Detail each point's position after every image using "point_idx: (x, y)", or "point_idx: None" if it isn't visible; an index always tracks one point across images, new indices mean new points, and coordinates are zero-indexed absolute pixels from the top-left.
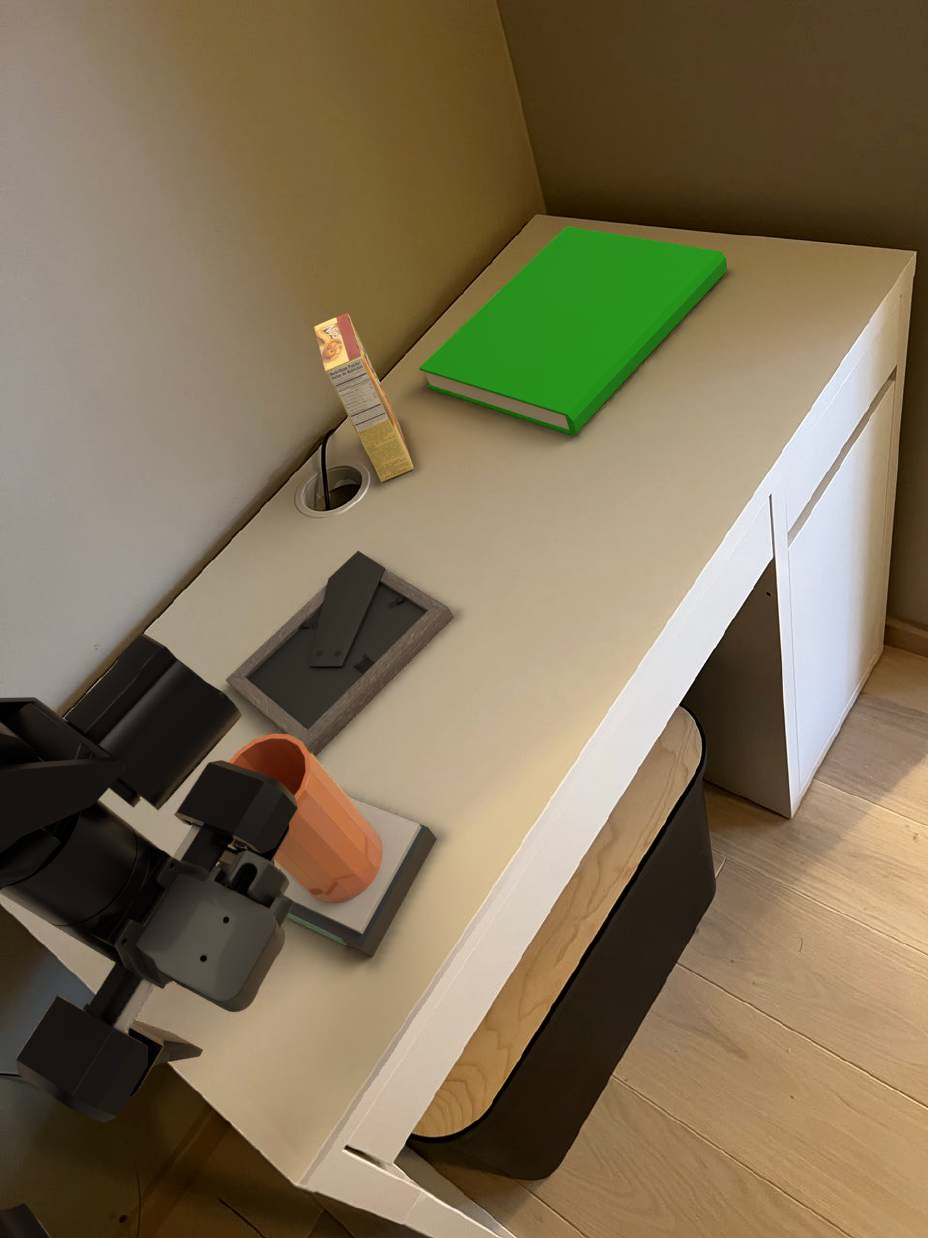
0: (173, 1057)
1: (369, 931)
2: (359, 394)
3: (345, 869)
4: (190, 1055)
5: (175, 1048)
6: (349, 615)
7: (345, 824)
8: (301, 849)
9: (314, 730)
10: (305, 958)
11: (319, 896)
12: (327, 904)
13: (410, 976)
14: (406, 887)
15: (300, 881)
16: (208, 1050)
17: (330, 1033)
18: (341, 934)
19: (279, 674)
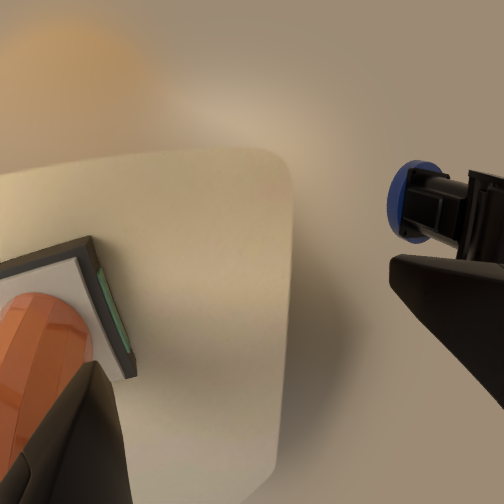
0: (487, 265)
1: (68, 252)
2: None
3: (24, 325)
4: (432, 258)
5: (490, 273)
6: None
7: None
8: (26, 401)
9: None
10: (143, 296)
11: (81, 330)
12: (83, 317)
13: (77, 181)
14: (16, 259)
15: (79, 362)
16: (266, 303)
17: (179, 213)
18: (94, 278)
19: None
